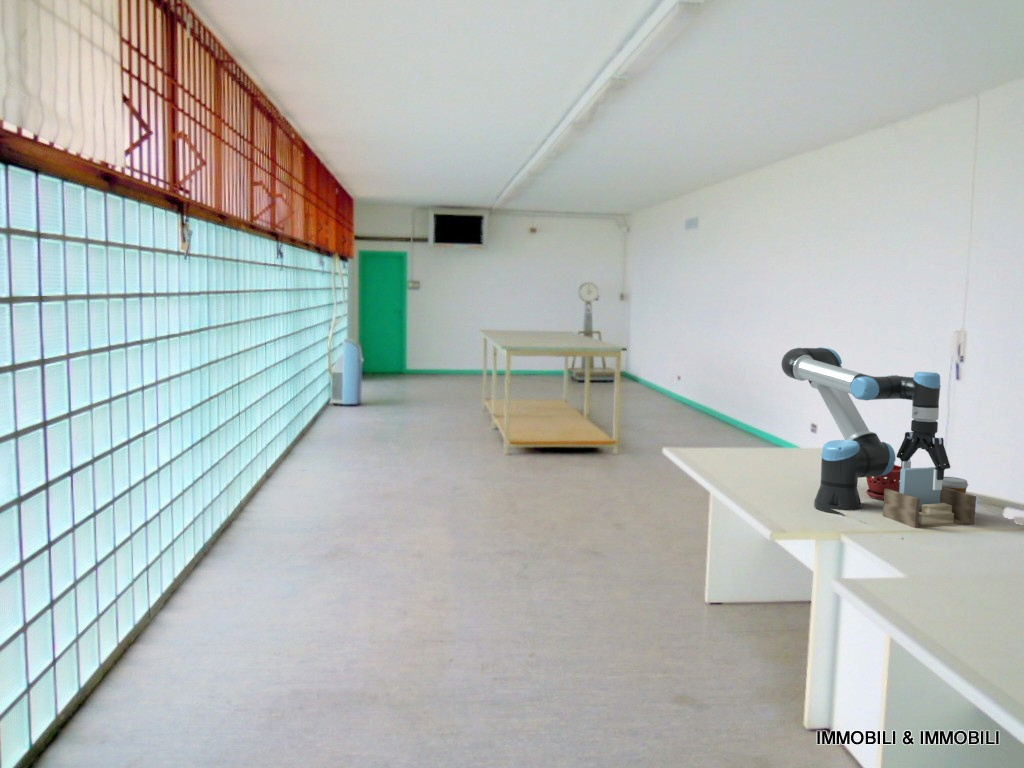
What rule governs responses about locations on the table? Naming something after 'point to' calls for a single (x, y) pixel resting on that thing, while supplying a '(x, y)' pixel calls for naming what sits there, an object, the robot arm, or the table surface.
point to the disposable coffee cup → (955, 484)
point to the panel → (919, 485)
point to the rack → (908, 509)
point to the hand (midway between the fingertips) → (921, 485)
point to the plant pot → (884, 483)
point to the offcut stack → (936, 514)
